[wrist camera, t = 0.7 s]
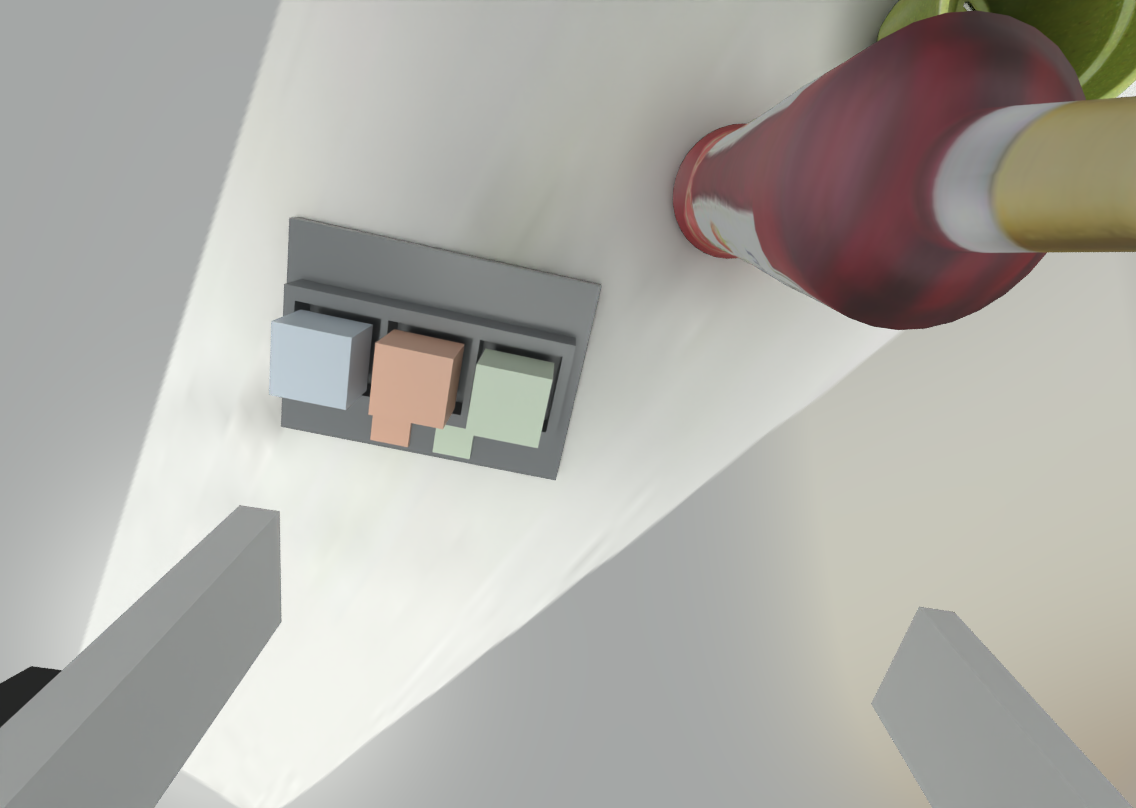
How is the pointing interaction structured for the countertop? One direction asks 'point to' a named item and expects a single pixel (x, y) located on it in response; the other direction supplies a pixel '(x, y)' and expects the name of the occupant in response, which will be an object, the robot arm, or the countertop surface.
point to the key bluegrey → (319, 358)
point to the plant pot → (1057, 33)
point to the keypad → (440, 333)
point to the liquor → (919, 174)
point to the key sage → (509, 398)
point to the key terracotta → (415, 378)
